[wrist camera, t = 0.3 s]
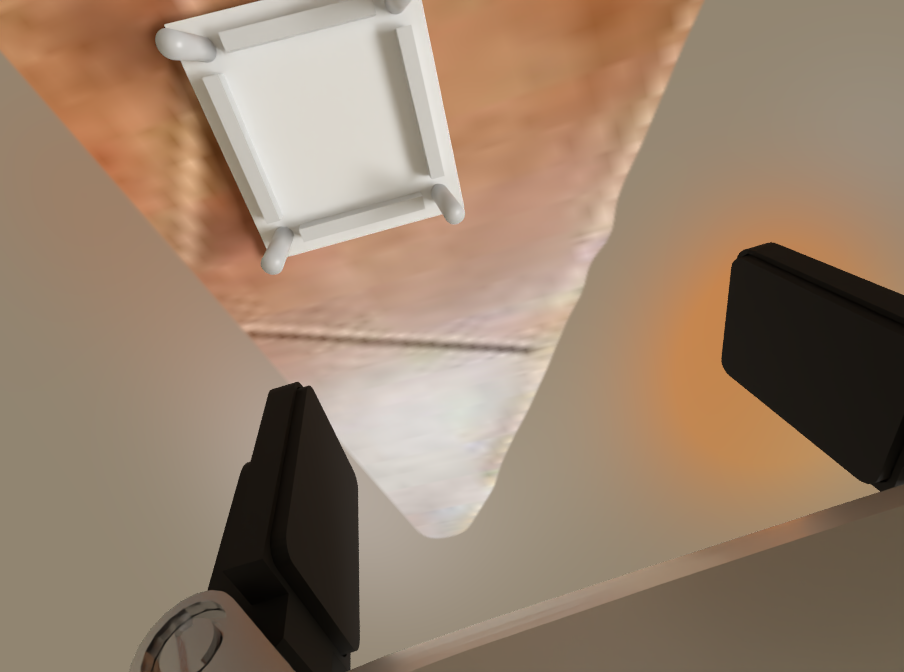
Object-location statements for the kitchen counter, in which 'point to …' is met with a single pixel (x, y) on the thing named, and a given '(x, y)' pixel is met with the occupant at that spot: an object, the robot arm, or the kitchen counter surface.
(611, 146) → the kitchen counter surface
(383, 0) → the tray
